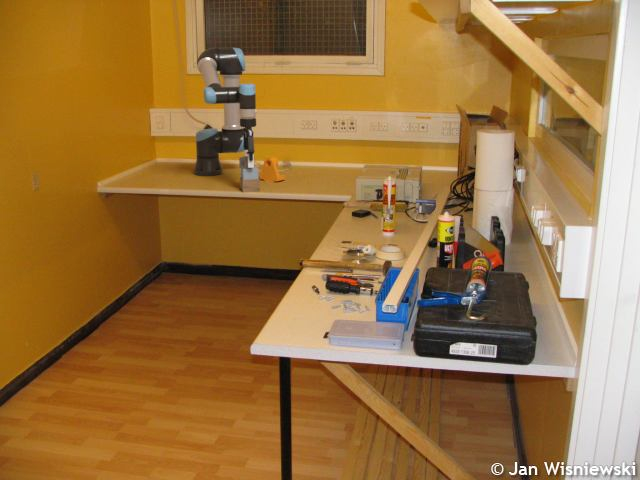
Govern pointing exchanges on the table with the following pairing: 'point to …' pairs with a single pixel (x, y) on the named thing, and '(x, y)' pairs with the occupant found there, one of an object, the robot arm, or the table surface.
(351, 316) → the table surface
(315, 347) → the table surface
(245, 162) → the dice cube
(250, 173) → the tower top
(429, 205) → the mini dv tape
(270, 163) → the bracket
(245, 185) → the tower bottom
